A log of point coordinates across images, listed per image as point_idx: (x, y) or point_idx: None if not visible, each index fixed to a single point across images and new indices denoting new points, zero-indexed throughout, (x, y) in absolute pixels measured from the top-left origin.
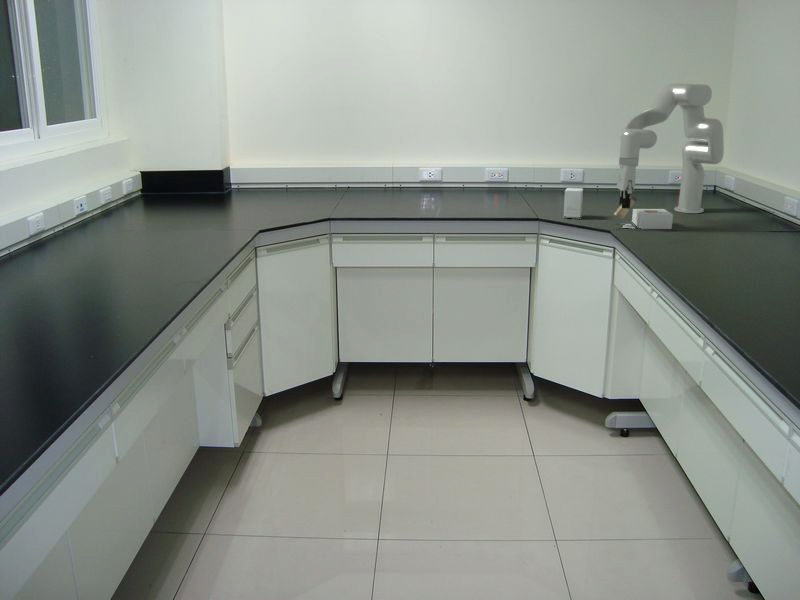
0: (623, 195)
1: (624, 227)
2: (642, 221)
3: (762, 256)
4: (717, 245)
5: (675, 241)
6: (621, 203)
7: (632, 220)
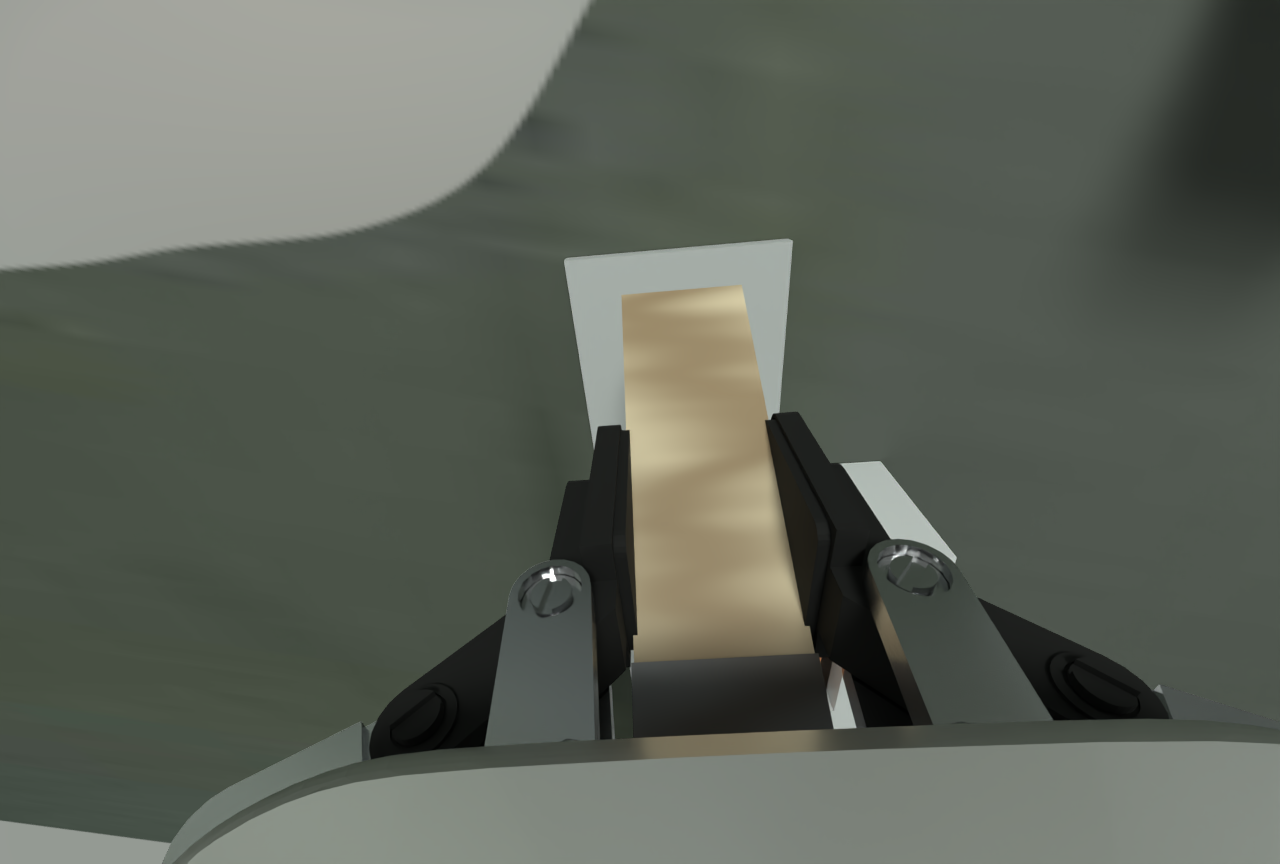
0: (581, 622)
1: (600, 360)
2: None
3: (141, 798)
4: (267, 733)
5: (255, 606)
6: (775, 465)
7: (872, 477)
